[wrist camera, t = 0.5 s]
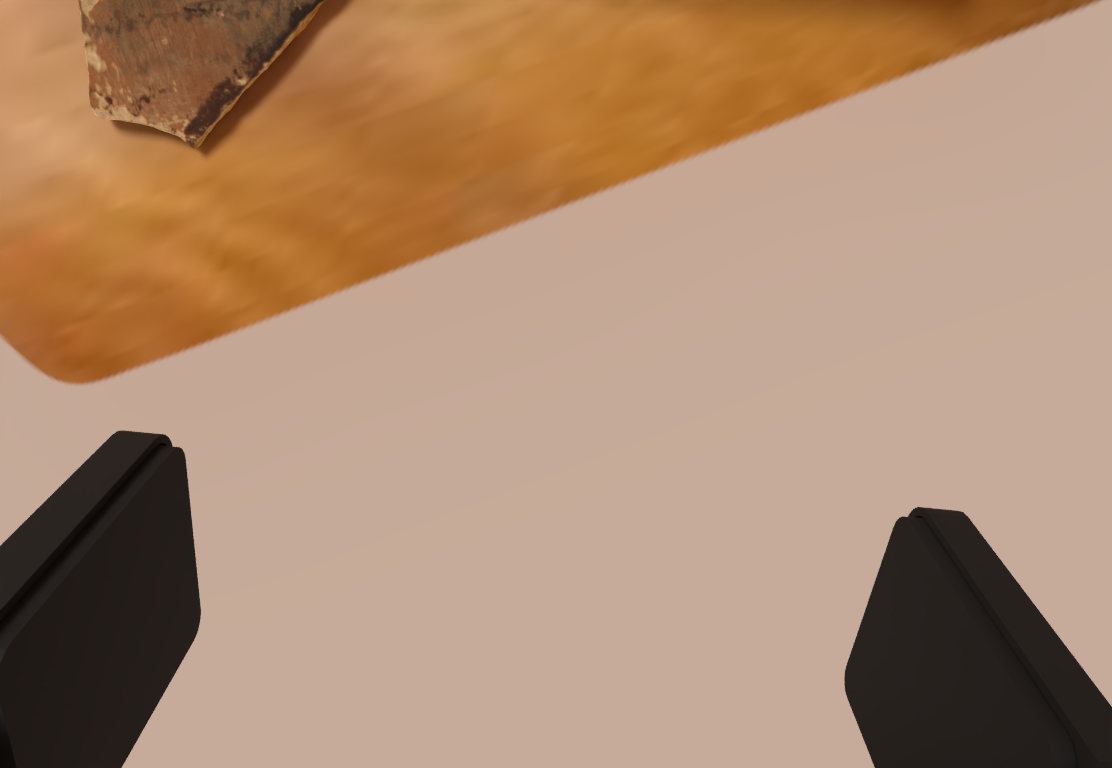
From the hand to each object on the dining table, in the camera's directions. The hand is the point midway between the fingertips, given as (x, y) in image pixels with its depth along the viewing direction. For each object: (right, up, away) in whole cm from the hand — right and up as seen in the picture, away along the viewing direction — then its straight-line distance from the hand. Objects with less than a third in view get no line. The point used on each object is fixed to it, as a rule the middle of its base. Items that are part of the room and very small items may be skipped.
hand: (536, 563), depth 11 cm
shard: (-15, +19, +25) cm, 35 cm away
